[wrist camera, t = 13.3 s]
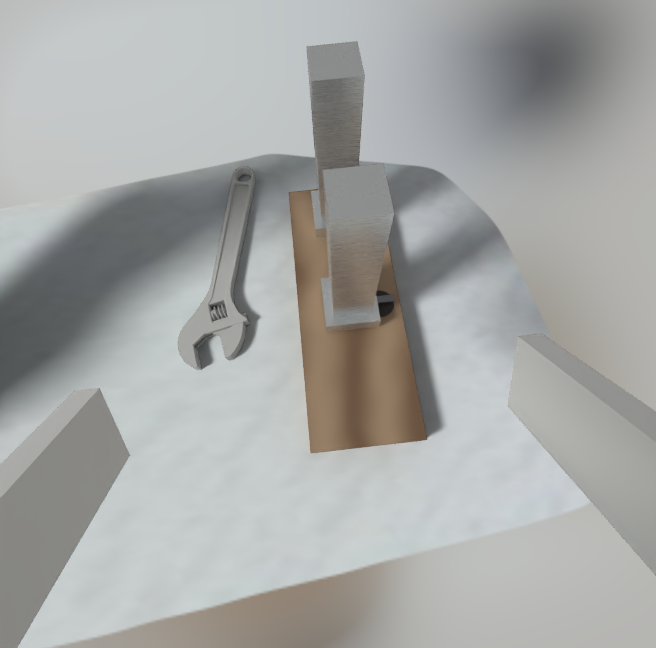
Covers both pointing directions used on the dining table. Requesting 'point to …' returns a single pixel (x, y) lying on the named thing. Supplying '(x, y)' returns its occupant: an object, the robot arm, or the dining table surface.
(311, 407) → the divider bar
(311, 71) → the fixed leg
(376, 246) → the block
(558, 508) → the dining table surface
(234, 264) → the adjustable wrench
